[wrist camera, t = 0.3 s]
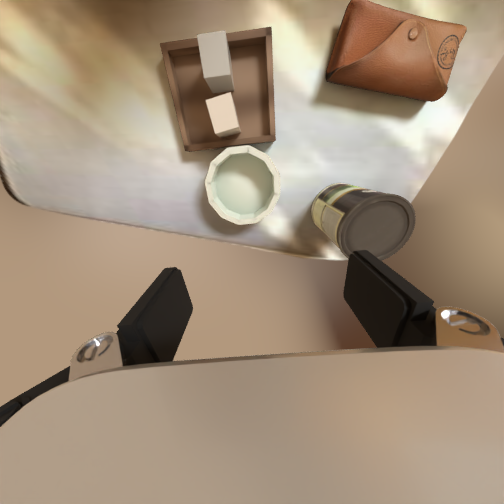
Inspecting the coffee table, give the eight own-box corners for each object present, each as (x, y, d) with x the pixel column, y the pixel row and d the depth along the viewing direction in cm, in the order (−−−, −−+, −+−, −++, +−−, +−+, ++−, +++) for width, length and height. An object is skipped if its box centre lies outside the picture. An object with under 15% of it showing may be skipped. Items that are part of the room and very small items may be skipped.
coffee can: (331, 172, 35) (377, 178, 22) (371, 198, 37) (433, 217, 24) (300, 218, 39) (324, 245, 26) (337, 239, 41) (376, 273, 28)
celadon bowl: (204, 152, 33) (198, 151, 29) (275, 143, 32) (278, 141, 28) (217, 220, 39) (214, 227, 35) (278, 214, 38) (281, 220, 34)
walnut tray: (166, 52, 27) (160, 43, 25) (269, 36, 26) (271, 26, 24) (189, 151, 33) (185, 150, 31) (274, 141, 32) (275, 140, 30)
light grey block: (207, 59, 27) (196, 34, 22) (230, 56, 27) (225, 30, 22) (212, 93, 29) (204, 78, 24) (234, 90, 29) (230, 74, 23)
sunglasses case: (474, 21, 24) (495, 46, 22) (423, 84, 31) (435, 109, 28) (348, -6, 23) (354, 17, 21) (322, 66, 30) (325, 90, 27)
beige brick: (213, 111, 30) (205, 100, 25) (234, 104, 30) (230, 92, 24) (221, 138, 32) (215, 133, 26) (241, 132, 31) (238, 126, 26)
